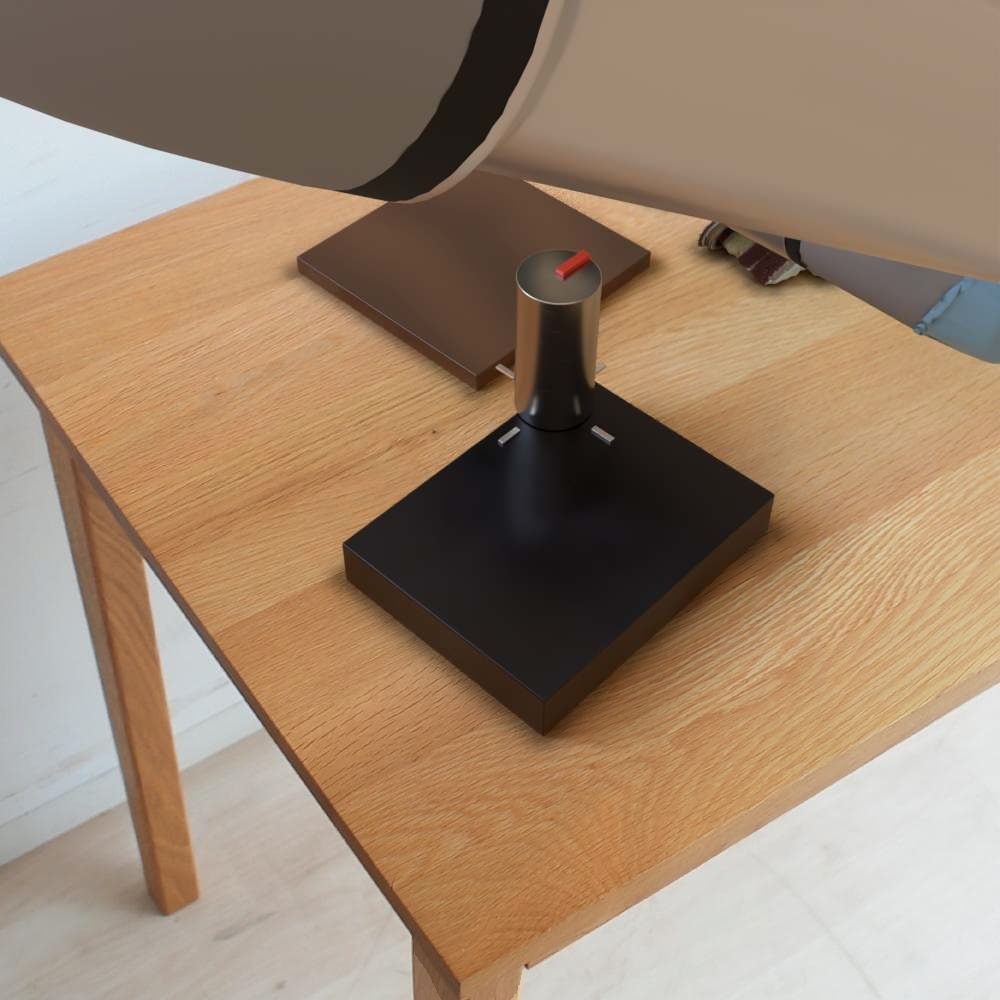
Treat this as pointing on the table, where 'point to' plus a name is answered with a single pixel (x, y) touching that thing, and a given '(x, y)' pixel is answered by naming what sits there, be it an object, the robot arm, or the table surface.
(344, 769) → the table surface
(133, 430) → the table surface
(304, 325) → the table surface
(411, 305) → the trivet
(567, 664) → the hob
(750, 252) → the chocolate cake
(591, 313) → the knob
